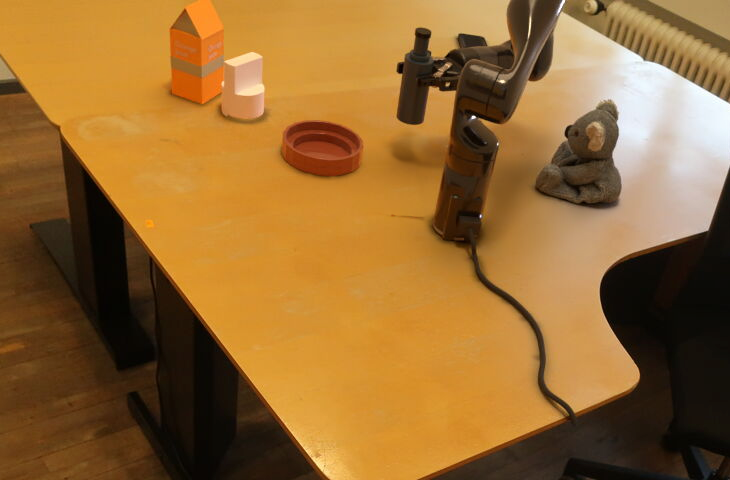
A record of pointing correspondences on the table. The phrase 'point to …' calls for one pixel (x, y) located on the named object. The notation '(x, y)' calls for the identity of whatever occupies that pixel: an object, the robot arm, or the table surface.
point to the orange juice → (197, 53)
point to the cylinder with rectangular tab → (243, 86)
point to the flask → (414, 65)
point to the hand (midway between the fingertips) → (407, 75)
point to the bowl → (322, 148)
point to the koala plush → (586, 159)
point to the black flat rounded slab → (471, 40)
